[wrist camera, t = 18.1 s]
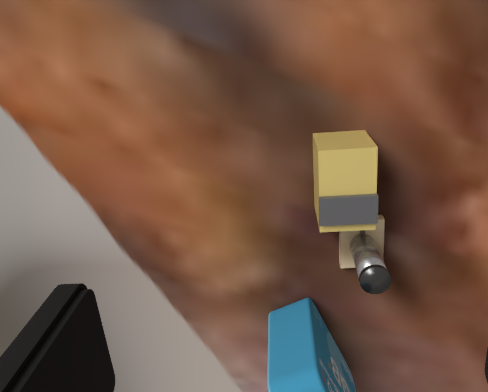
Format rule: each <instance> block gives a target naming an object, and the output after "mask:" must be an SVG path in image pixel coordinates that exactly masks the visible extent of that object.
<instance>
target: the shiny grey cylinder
mask: <svg viewBox="0 0 488 392" xmlns="http://www.w3.org/2000/svg"><path fill="white" fill-rule="evenodd" d="M349 248H350V251H351V254H352V258H353V261H354V264H355V267H356V270H357V273H358V277H359V282H360V285H361V287H362V289H363V290H364V291H366V292H368V293H371V294H379V293H382V292H384V291H386V290H387V289H388V288H389V286H390V284H391V276H390V273H389V271H388V270H387V268H386V266H385V264H384V261H383V259H382V257H381V254H380V252H379V250H378V248H377V245H376V243H375V241H374V239H373V238H372V237H371V236H369V235H366V234H360V235H357V236H355V237H354V238H353V239H352V240H351V242H350V245H349Z"/></svg>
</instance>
